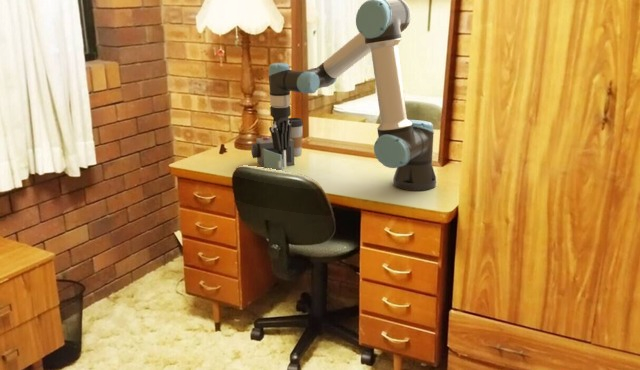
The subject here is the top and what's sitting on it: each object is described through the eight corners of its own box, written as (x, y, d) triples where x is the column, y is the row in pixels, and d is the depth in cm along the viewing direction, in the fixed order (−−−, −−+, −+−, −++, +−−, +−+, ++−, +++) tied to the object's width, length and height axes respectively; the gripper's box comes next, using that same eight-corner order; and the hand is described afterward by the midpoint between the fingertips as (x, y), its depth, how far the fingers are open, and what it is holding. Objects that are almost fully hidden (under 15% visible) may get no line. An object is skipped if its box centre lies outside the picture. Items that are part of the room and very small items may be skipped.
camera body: (294, 165, 248) (293, 138, 245) (255, 169, 244) (254, 142, 240) (288, 159, 257) (287, 133, 253) (250, 163, 252) (249, 136, 249)
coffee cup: (281, 153, 265) (280, 118, 260) (299, 151, 268) (298, 116, 264) (288, 158, 258) (286, 122, 253) (306, 155, 261) (306, 120, 256)
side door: (261, 166, 244) (260, 148, 241) (264, 166, 245) (263, 148, 242) (279, 173, 235) (279, 155, 232) (283, 173, 236) (282, 154, 233)
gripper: (280, 101, 239) (282, 160, 247) (262, 108, 228) (265, 169, 236) (297, 103, 235) (299, 163, 243) (279, 110, 225) (282, 172, 233)
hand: (282, 166), depth 240 cm, fingers closed
